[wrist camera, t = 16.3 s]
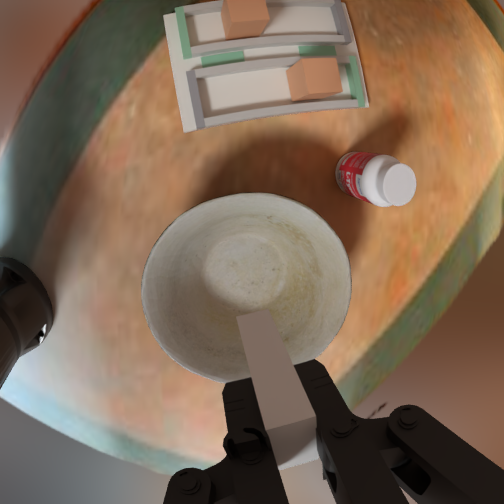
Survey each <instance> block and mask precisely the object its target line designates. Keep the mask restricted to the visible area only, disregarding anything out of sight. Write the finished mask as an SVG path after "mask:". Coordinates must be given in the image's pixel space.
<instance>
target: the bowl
mask: <svg viewBox="0 0 504 504" xmlns="http://www.w3.org/2000/svg"><path fill="white" fill-rule="evenodd" d="M351 292H352V279H351V267H350V261H349V258H348V254H347V252H346V250H345V247H344V245H343V243H342V241H341V240H340V238H339V237H338V235H337V234H336V233H335V231H334V230H333V229H332V227H331V226H330V225H329V224H328V223H327V222H326V221H325V220H324V219H323V218H322V217H321V216H320V215H319V214H317V213H316V212H315V211H314V210H312V209H311V208H309V207H308V206H306V205H304V204H303V203H301V202H298V201H296V200H294V199H291V198H288V197H286V196H282V195H277V194H271V193H256V192H248V193H237V194H231V195H226V196H222V197H218V198H214V199H211V200H208V201H205V202H203V203H201V204H199V205H197V206H194V207H192V208H191V209H189V210H187V211H186V212H184V213H183V214H181V215H180V216H178V217H177V218H176V219H175V220H174V221H173V222H172V223H171V224H170V225H169V226H168V227H167V228H166V229H165V230H164V232H163V233H162V234H161V236H160V237H159V238H158V240H157V241H156V243H155V244H154V246H153V248H152V250H151V252H150V254H149V257H148V259H147V261H146V264H145V267H144V271H143V275H142V284H141V294H142V305H143V312H144V314H145V317H146V320H147V323H148V326H149V328H150V330H151V332H152V334H153V336H154V337H155V339H156V341H157V342H158V343H159V345H160V347H161V348H162V349H163V350H164V351H165V352H166V354H167V355H168V356H169V357H170V358H172V359H173V360H174V361H175V362H177V363H178V364H179V365H180V366H182V367H184V368H185V369H187V370H188V371H190V372H192V373H194V374H197V375H199V376H202V377H205V378H207V379H210V380H213V381H216V382H220V383H225V384H226V383H227V382H232V381H236V380H241V379H245V378H249V377H251V374H250V370H249V366H248V362H247V358H246V354H245V350H244V346H243V343H242V339H241V335H240V330H239V326H238V322H237V318H236V317H237V316H241V315H245V314H249V313H253V312H257V311H261V310H265V309H269V312H270V314H271V316H272V318H273V321H274V323H275V325H276V327H277V330H278V332H279V334H280V336H281V339H282V341H283V343H284V345H285V348H286V350H287V352H288V354H289V357H290V359H291V361H292V363H293V365H295V364H299V363H302V362H306V361H309V360H312V359H315V358H316V357H318V356H319V355H320V354H321V353H322V352H323V351H324V350H325V349H326V348H327V347H328V345H329V344H330V343H331V342H332V340H333V339H334V337H335V336H336V335H337V333H338V332H339V330H340V328H341V327H342V325H343V323H344V321H345V317H346V315H347V312H348V308H349V303H350V299H351Z"/></svg>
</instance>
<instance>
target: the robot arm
mask: <svg viewBox="0 0 504 504" xmlns="http://www.w3.org/2000/svg"><path fill="white" fill-rule="evenodd" d="M236 318H237V322H238V326H239V330H240V335H241V339H242V343H243V346H244V350H245V354H246V358H247V362H248V366H249V370H250V374H251V377H249V378H245V379H241V380H236V381H232V382H227V383H226V384H225V387H224V389H223V392H222V396H223V403H224V409H225V416H226V423H227V429H228V433H227V435H226V436H225V438H224V441H223V447H224V449H225V451H226V453H227V455H226V457H225V458H224V459H223V460H222V461H221V462H219V463H218V464H216V465H214V466H212V467H209V468H207V469H205V470H203V471H202V470H201V469H197V468H185V469H182V470H180V471H178V472H176V473H175V474H174V475H173V476H172V477H171V479H170V481H169V484H168V487H167V491H166V495H165V498H164V502H163V504H289V503H288V499H287V496H286V492H285V489H284V486H283V483H282V479H281V476H280V473H279V470H282V469H285V468H289V467H293V466H296V465H300V464H303V463H307V462H310V461H313V460H316V459H319V456H320V459H321V461H322V464H323V479H324V480H325V479H327V482H328V484H329V487H330V489H331V492H332V494H333V496H334V499H335V501H336V504H409V502H408V501H407V499H406V497H405V496H404V494H403V492H402V490H401V488H402V489H403V490H404V491H405V492H406V493H407V494H409V495H410V497H411V498H413V499H414V500H415V501H416V502H417V503H418V504H504V470H503V469H501V468H500V467H499V466H497V465H496V464H495V463H493V462H492V461H491V460H489V459H488V458H486V457H485V456H484V455H483V454H481V453H480V452H479V451H477V450H476V449H475V448H473V447H472V446H471V445H469V444H468V443H466V442H465V441H464V440H463V439H461V438H460V437H458V436H457V435H456V434H455V433H453V432H452V431H451V430H449V429H448V428H447V427H445V426H444V425H443V424H441V423H440V422H439V421H438V420H436V419H435V418H434V417H432V416H431V415H430V414H428V413H427V412H426V411H425V410H423V409H422V408H420V407H418V406H415V405H404V406H400V407H398V408H396V409H394V411H393V412H392V413H391V414H390V416H389V417H384V418H377V419H364V418H360V417H358V416H356V415H354V414H353V413H352V412H351V411H350V410H349V409H348V407H347V405H346V403H345V402H344V400H343V398H342V396H341V394H340V393H339V391H338V389H337V387H336V386H335V384H334V383H333V380H332V379H331V377H330V376H329V373H328V372H327V370H326V368H325V366H324V365H323V364H321V363H320V362H318V361H317V360H315V359H312V360H309V361H306V362H302V363H299V364H295V365H293V363H292V361H291V359H290V357H289V354H288V352H287V350H286V348H285V345H284V343H283V341H282V339H281V336H280V334H279V332H278V330H277V327H276V325H275V323H274V321H273V318H272V316H271V314H270V312H269V309H265V310H261V311H257V312H253V313H249V314H245V315H241V316H237V317H236ZM52 320H53V314H52V307H51V303H50V300H49V297H48V294H47V292H46V290H45V288H44V287H43V285H42V283H41V282H40V280H39V279H38V278H37V277H36V275H35V274H34V273H33V272H32V271H31V270H30V269H29V268H27V267H26V266H25V265H23V264H22V263H20V262H18V261H16V260H14V259H11V258H0V389H1V387H2V385H3V384H4V382H5V380H6V378H7V377H8V375H9V373H10V371H11V370H12V368H13V366H14V365H15V363H16V361H17V360H18V358H19V357H21V356H22V355H24V354H26V353H28V352H29V351H31V350H33V349H34V348H36V347H38V346H39V345H40V344H41V343H42V342H43V341H44V339H45V338H46V336H47V335H48V333H49V331H50V329H51V326H52ZM318 454H319V455H318ZM399 486H400V487H401V488H400V487H399Z"/></svg>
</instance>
